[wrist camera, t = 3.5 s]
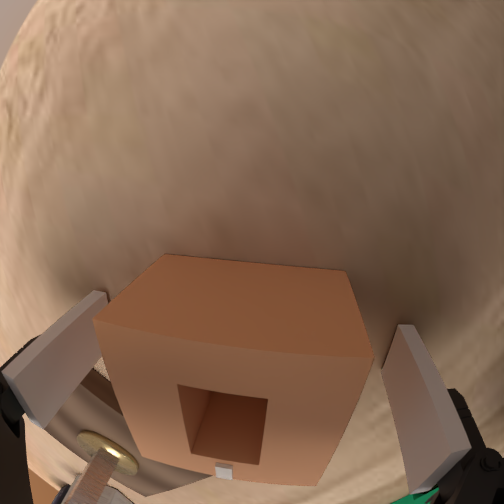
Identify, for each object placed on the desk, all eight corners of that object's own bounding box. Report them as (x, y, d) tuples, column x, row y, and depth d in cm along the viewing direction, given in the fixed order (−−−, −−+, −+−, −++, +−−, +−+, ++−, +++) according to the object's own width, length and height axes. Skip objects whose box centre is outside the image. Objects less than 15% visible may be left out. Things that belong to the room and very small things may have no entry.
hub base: (69, 348, 15) (-13, 439, 7) (226, 454, 16) (196, 563, 8) (48, 417, 20) (6, 473, 12) (150, 485, 21) (123, 548, 13)
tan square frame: (164, 254, 11) (87, 322, 7) (345, 270, 11) (376, 363, 6) (178, 381, 14) (140, 460, 9) (316, 399, 13) (315, 489, 8)
